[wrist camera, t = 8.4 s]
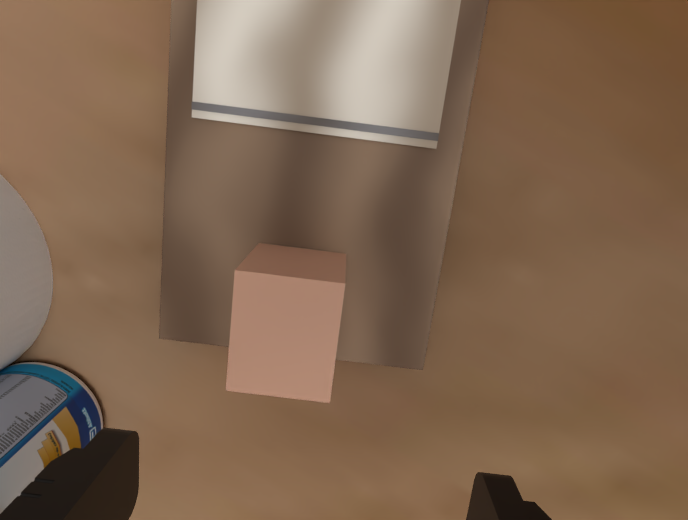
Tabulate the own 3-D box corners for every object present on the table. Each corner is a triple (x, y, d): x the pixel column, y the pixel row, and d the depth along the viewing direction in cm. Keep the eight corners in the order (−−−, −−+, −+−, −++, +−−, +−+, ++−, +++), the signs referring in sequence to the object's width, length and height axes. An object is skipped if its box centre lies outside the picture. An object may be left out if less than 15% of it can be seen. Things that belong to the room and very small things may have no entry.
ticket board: (493, -65, 25) (507, -83, 23) (419, 359, 31) (424, 375, 29) (185, -107, 25) (170, -130, 23) (168, 329, 31) (154, 343, 28)
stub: (346, 253, 28) (345, 283, 22) (333, 350, 29) (330, 403, 23) (259, 242, 28) (234, 270, 22) (250, 340, 29) (225, 390, 23)
